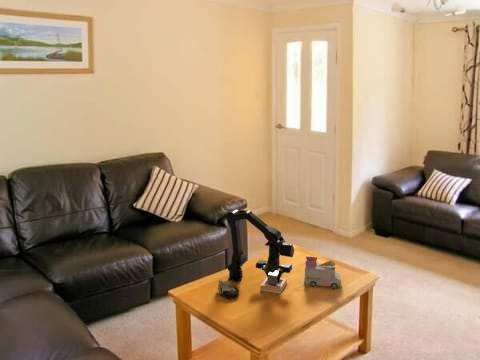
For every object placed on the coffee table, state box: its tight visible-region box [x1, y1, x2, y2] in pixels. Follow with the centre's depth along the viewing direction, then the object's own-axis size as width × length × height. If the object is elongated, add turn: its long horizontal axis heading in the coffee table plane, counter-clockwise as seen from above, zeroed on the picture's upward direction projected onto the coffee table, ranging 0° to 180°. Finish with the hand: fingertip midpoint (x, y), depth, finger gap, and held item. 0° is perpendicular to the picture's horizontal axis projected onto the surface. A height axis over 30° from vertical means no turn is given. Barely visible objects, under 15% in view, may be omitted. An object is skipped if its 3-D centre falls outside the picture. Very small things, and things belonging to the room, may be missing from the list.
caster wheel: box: [217, 279, 240, 300], centre depth 242 cm, size 7×11×10 cm
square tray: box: [259, 276, 288, 294], centre depth 251 cm, size 11×12×3 cm
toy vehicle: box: [303, 256, 342, 290], centre depth 251 cm, size 9×20×15 cm, turn 78°
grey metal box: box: [268, 270, 280, 286], centre depth 250 cm, size 5×6×6 cm
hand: (273, 280), depth 250 cm, fingers closed on grey metal box, 5 cm apart
